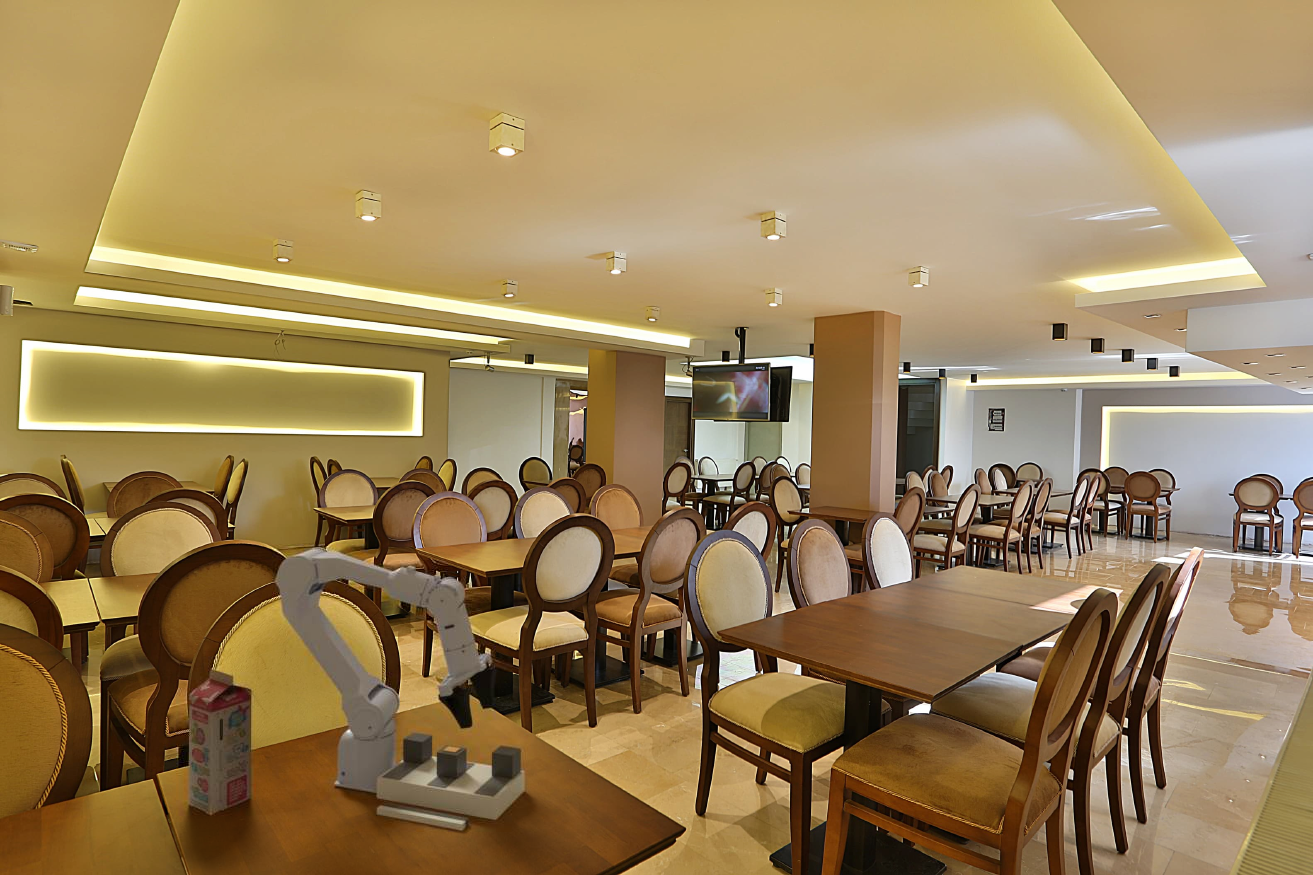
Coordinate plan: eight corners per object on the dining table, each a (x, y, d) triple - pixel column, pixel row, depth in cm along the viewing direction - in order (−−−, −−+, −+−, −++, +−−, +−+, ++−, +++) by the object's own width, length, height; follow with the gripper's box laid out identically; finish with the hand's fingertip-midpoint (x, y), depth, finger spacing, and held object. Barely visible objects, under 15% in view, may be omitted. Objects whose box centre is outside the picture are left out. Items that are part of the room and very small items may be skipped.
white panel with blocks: (376, 797, 123) (377, 753, 123) (412, 771, 132) (412, 730, 132) (495, 819, 116) (496, 773, 116) (524, 790, 125) (524, 747, 125)
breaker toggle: (436, 775, 123) (436, 750, 123) (446, 767, 126) (446, 743, 126) (456, 778, 122) (457, 754, 122) (466, 770, 125) (466, 746, 125)
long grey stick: (376, 814, 117) (376, 807, 117) (384, 808, 119) (384, 802, 119) (462, 830, 113) (462, 824, 113) (468, 824, 115) (468, 817, 115)
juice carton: (228, 787, 126) (229, 663, 126) (250, 797, 122) (251, 669, 122) (188, 804, 120) (189, 674, 120) (210, 815, 117) (211, 681, 116)
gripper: (455, 657, 121) (475, 734, 121) (497, 628, 135) (515, 696, 135) (421, 663, 123) (441, 738, 124) (466, 633, 137) (484, 701, 137)
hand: (477, 717), depth 130 cm, fingers open, 7 cm apart
